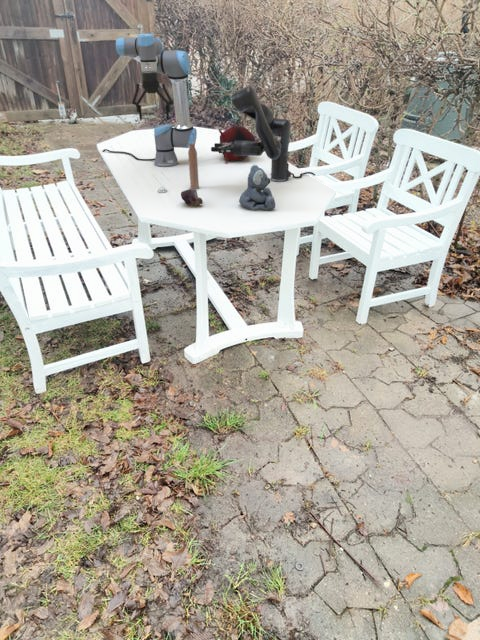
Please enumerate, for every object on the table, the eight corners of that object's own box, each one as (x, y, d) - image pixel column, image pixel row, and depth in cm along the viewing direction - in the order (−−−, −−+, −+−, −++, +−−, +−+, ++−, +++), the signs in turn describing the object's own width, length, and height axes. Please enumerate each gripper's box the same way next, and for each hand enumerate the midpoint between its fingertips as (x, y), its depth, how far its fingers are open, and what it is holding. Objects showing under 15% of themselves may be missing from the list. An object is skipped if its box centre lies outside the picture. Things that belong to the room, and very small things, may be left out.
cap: (163, 193, 247) (162, 189, 246) (156, 192, 248) (156, 188, 247) (167, 190, 250) (167, 187, 249) (161, 189, 251) (161, 186, 250)
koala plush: (276, 211, 223) (277, 171, 212) (240, 212, 222) (240, 172, 211) (271, 199, 237) (272, 161, 226) (237, 200, 236) (237, 162, 225)
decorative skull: (216, 132, 306) (216, 129, 283) (250, 124, 306) (252, 120, 282) (223, 164, 313) (223, 164, 290) (256, 156, 312) (259, 156, 289)
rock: (196, 202, 238) (178, 205, 233) (194, 185, 234) (176, 188, 230) (205, 205, 228) (187, 208, 224) (203, 188, 224) (185, 191, 220)
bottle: (190, 189, 252) (187, 144, 238) (191, 186, 256) (188, 142, 242) (198, 189, 252) (195, 144, 238) (199, 186, 256) (196, 142, 242)
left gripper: (122, 73, 213) (128, 121, 225) (174, 72, 213) (178, 120, 225) (124, 71, 219) (131, 118, 231) (176, 70, 219) (179, 117, 231)
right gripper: (244, 137, 241) (215, 137, 243) (240, 144, 229) (209, 142, 231) (244, 152, 245) (215, 151, 247) (240, 159, 233) (210, 157, 235)
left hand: (154, 119), depth 228 cm, fingers open, 13 cm apart
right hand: (212, 147), depth 239 cm, fingers open, 8 cm apart
